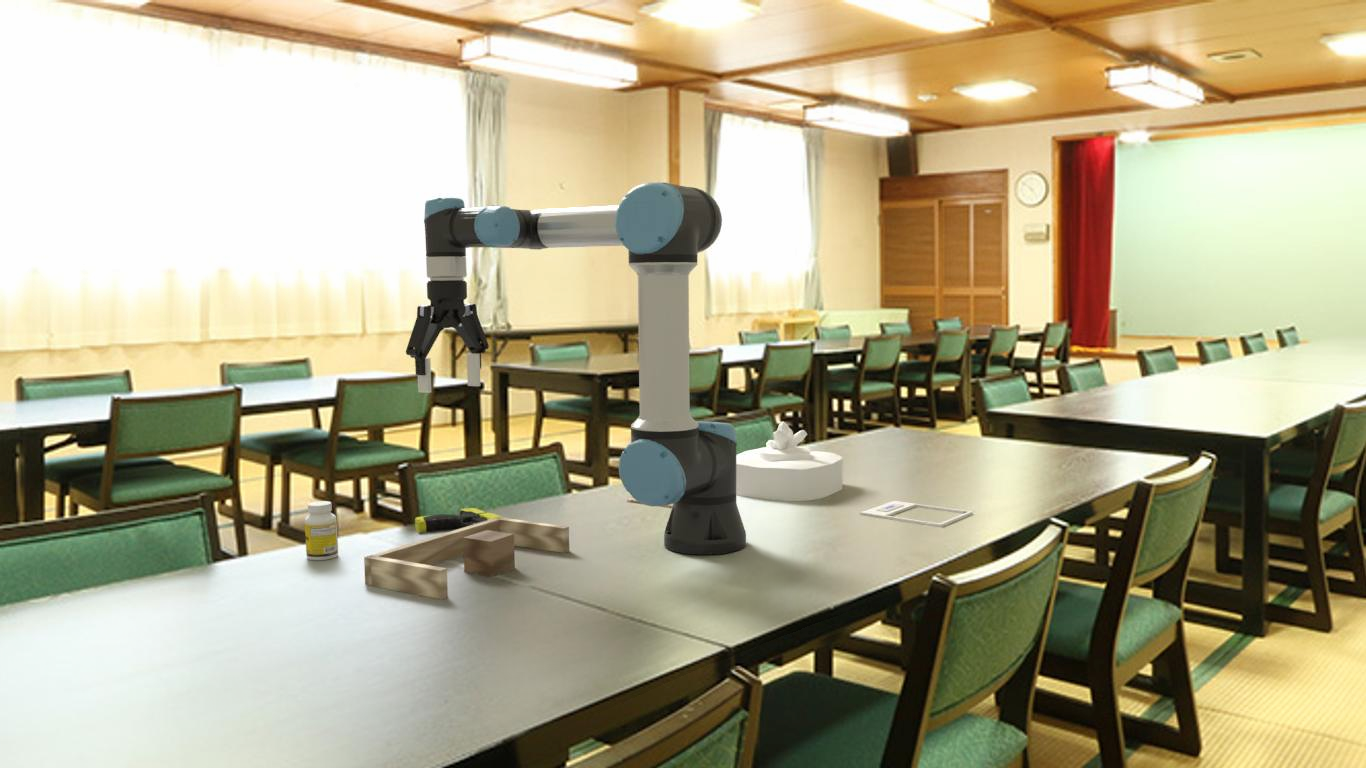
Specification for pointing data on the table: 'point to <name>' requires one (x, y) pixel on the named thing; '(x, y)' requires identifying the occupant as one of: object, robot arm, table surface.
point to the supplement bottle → (321, 531)
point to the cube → (489, 553)
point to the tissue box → (788, 470)
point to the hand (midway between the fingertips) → (450, 389)
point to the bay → (451, 555)
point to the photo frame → (896, 507)
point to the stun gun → (452, 520)
